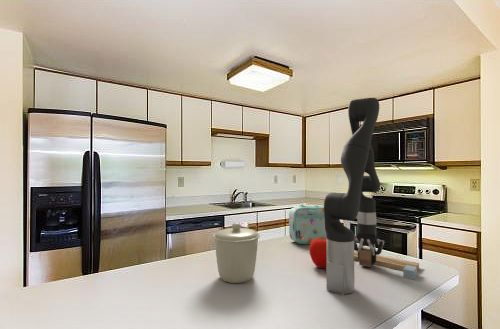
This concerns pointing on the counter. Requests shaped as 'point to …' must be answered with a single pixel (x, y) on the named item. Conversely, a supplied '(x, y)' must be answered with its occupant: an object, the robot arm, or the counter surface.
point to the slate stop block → (410, 272)
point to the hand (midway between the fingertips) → (367, 262)
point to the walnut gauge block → (365, 257)
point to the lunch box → (306, 223)
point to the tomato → (319, 252)
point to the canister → (236, 253)
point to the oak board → (390, 262)
